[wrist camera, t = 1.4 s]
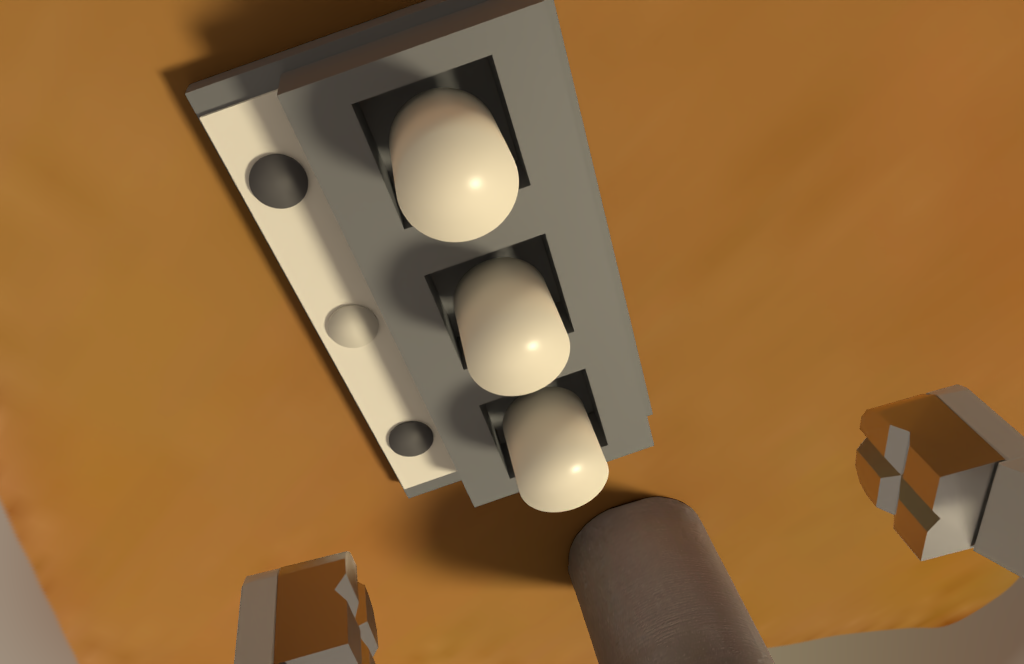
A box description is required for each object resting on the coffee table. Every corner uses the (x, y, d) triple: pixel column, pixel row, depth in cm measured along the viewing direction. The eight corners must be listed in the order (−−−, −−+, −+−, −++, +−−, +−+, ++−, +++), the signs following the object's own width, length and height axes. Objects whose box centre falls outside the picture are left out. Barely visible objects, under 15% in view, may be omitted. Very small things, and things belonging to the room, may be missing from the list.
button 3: (574, 375, 39) (597, 433, 36) (592, 434, 42) (616, 494, 38) (492, 403, 39) (507, 464, 36) (515, 461, 42) (532, 523, 38)
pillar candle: (646, 602, 57) (732, 817, 45) (538, 574, 53) (601, 802, 41) (729, 515, 54) (847, 723, 41) (621, 477, 49) (716, 696, 37)
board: (538, -40, 31) (562, -21, 28) (646, 401, 46) (669, 446, 43) (189, 84, 31) (172, 117, 28) (407, 483, 46) (412, 535, 43)
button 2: (533, 244, 34) (556, 295, 31) (557, 320, 37) (580, 375, 34) (440, 276, 35) (451, 331, 31) (470, 350, 37) (484, 409, 34)
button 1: (479, 71, 30) (498, 108, 26) (511, 172, 32) (532, 218, 29) (371, 109, 30) (376, 151, 26) (412, 207, 32) (420, 257, 29)
